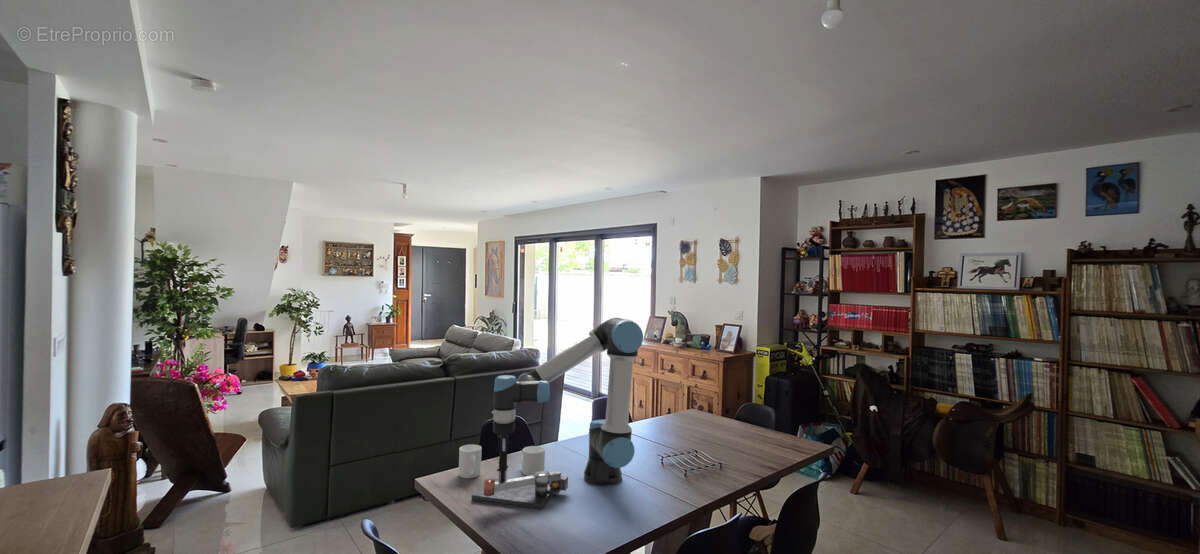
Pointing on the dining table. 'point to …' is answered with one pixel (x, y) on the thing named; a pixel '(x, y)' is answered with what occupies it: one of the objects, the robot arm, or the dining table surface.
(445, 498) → the dining table surface
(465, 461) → the mug
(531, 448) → the mug
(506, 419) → the robot arm
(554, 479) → the lever
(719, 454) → the dining table surface
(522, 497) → the press base
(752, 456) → the dining table surface
